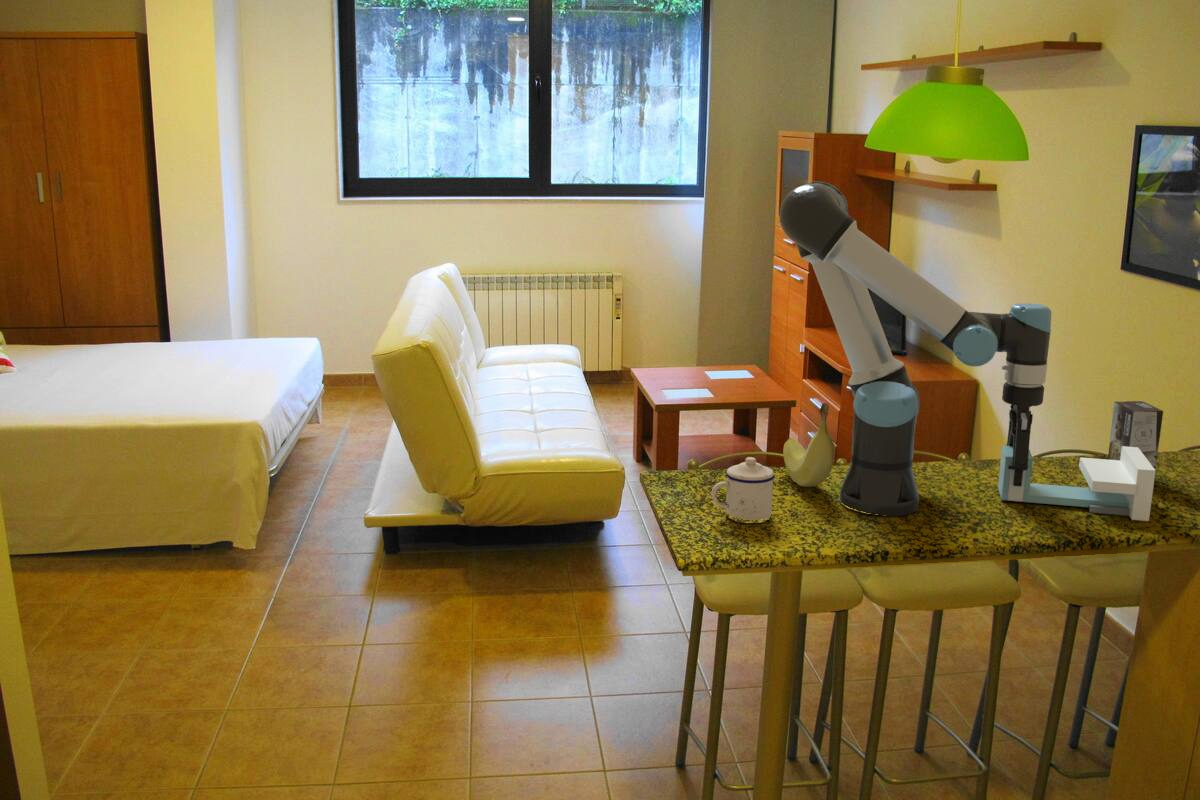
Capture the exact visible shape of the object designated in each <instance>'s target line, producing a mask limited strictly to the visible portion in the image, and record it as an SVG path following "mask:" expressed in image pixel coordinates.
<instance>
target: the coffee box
mask: <svg viewBox="0 0 1200 800" xmlns="http://www.w3.org/2000/svg"><path fill="white" fill-rule="evenodd" d="M1112 409H1113V411H1112V418H1111V419H1112V420H1111V427H1110V437H1109V447H1108V456H1107V460H1120V457H1121V449H1122V446H1126V447H1138V448H1139V449H1140V451H1141V452H1142V453H1143V455H1144V456H1145V457H1146V458H1147V460H1148V461H1149V462H1150V464H1151V465H1152V466H1153V468H1154V469H1155V470H1156V469H1157V461H1158V455H1159V447H1160V446H1159V445H1160V437H1161V431H1162V424H1163V417H1164V416H1163V415H1164V411H1163V410H1162V409H1159V408H1158V407H1156V406H1153V405H1151V404H1150V403H1147V402H1145V401H1140V400H1137V401H1136V400H1131V401H1130V400H1129V401H1127V400H1126V401H1114V402H1113V408H1112ZM1156 471H1157V470H1156Z"/></svg>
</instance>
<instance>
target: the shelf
mask: <svg viewBox="0 0 1200 800" xmlns="http://www.w3.org/2000/svg"><path fill="white" fill-rule="evenodd" d="M1078 469H1079V470H1080V471H1081V473H1082V475H1083V477H1084V479H1085V481H1086V483H1087V485H1088V486H1089V487H1088V488H1091V490H1092V491H1097V492H1109V493H1122V494H1123V495H1124V497H1125V498H1126V500H1127V501H1128V503H1129V504H1128V508H1125V507H1113V506H1101V505H1089V507H1088V512H1089V513H1094V514H1103V515H1106V514H1107V515H1115V516H1127V517H1128V516H1129V518H1130V519H1131V521H1141V522H1142V521H1144V522H1149V521H1150V517H1151V516H1150V515H1151V507H1152V500H1153V493H1154V486H1155V485H1154V484H1155V478H1156V471H1157V470H1155V469H1154V468H1153V466H1152V465H1151V464H1150V462H1149V461H1148V460H1147V458H1146V457H1145V456H1144V455H1143V453H1142V452H1141V451H1140V449H1139V448H1138V447H1126V446H1122V449H1121V457H1120V460H1108V458H1107V459H1105V458H1104V459H1103V458H1093V457H1092V458H1091V457H1080V458H1079V464H1078Z"/></svg>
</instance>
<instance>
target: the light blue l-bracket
mask: <svg viewBox="0 0 1200 800" xmlns="http://www.w3.org/2000/svg"><path fill="white" fill-rule="evenodd" d="M1000 455H1001V456H1000V464H999V465H1000V466H999V475H998V485H997V488H998V492H999V497H1000V499H1001V501H1010V500H1008V490H1009V480H1010V470H1011V469H1008V466H1012V460H1013V446H1006V445H1001V454H1000ZM1033 461H1034V458H1033V455H1032V453H1031V450H1030V449H1029V454H1028V469H1027V470H1026V472H1025V482H1024V492H1023V501H1018V502H1019V503H1021V502H1023V503H1034V504H1045V505H1046V504H1047V505H1058V506H1068V507H1081V508H1089V505H1101V506H1113V507H1125V508H1128V504H1129V503H1128V501H1127V500H1126V498H1125V497H1124V495H1123V494H1122V493H1109V492H1097V491H1092V490H1091V488H1090V487H1084V486H1083V487H1081V486H1070V485H1058V484H1057V485H1055V484H1046V483H1045V484H1043V483H1033V482H1032V483H1031V481H1032V473H1033V472H1032V469H1033ZM1010 502H1011V501H1010Z"/></svg>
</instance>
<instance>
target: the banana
mask: <svg viewBox="0 0 1200 800" xmlns="http://www.w3.org/2000/svg"><path fill="white" fill-rule="evenodd" d="M829 408H830V407H829V404H828V403H827V402H823V403H822V404H821V407H820V408H819V411H818V412H819V414H820V424H819V428H818V431H816V432H815V433H814V435H813V436H812V438H811V439H810V442H809V444H808V446H807V448H806V450H805V449H804V447H803V446H802V445H801V444H800V443H799V442H798V441H797V440H796V439H795V438H791V437H789V438H788V439H786V440H785V442H784V445H783V449H782V453H783V455H782V456H783V460H784V464H785V468H786V471H787V473H788V475H789V477H790V478H791V481H793V482H794V483H795V482H796V483H797V484H796V483H795V484H796V485H798V486H800V487H807V488H809V487H816V486H820V485H821V484H823V483H824V482H825V480H826V479H827V478H828V476H829V475H830V473H831V471H832V467H833V464H834V459H835V458H834V457H835V444H834V441H833V439H832V437H831V435H830V432H829V430H828V428H827V418H828V416H829Z"/></svg>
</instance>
